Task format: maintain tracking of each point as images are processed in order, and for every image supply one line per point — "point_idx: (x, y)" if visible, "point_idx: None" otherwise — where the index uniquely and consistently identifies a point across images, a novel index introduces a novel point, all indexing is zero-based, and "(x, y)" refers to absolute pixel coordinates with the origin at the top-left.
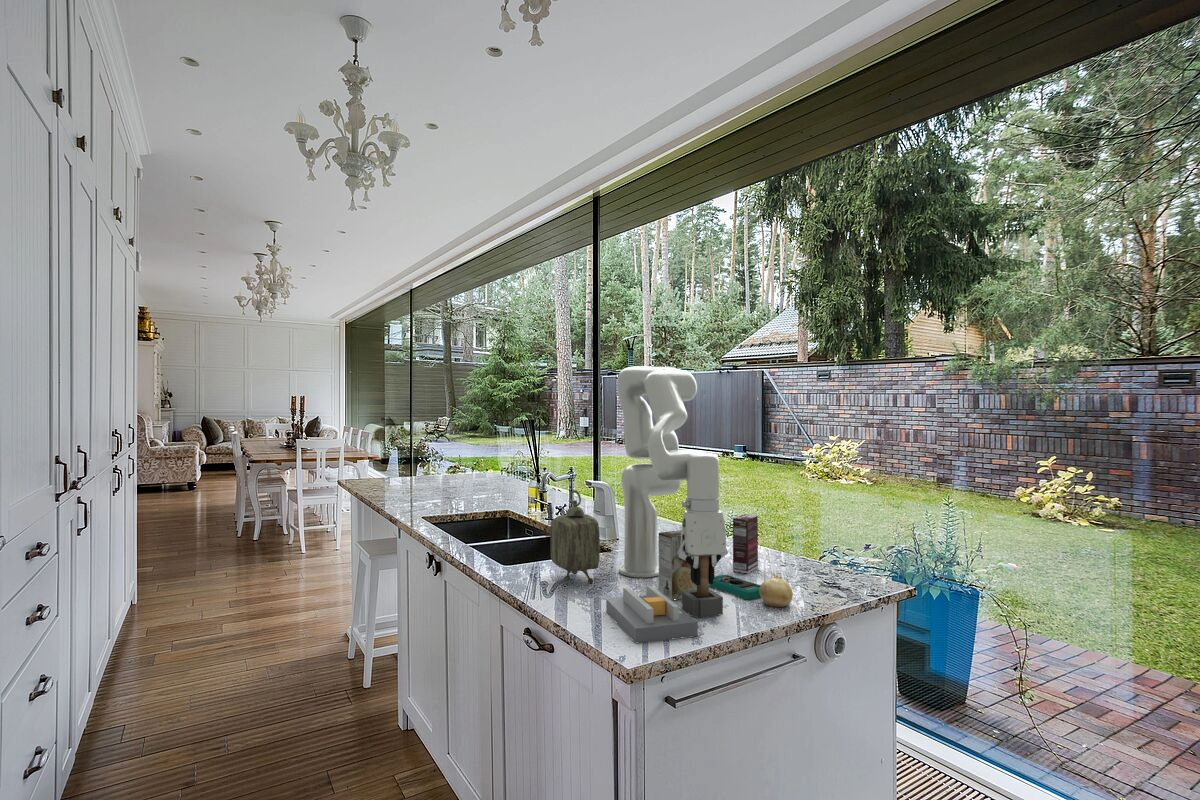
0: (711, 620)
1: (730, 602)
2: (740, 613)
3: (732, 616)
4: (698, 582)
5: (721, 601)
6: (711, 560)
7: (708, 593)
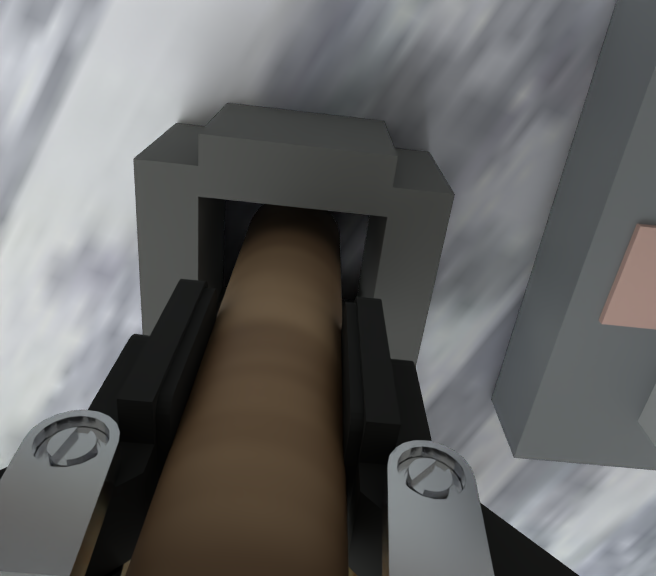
0: (338, 31)
1: (7, 313)
2: (25, 85)
3: (122, 47)
4: (374, 308)
5: (161, 150)
6: (97, 514)
7: (248, 251)
